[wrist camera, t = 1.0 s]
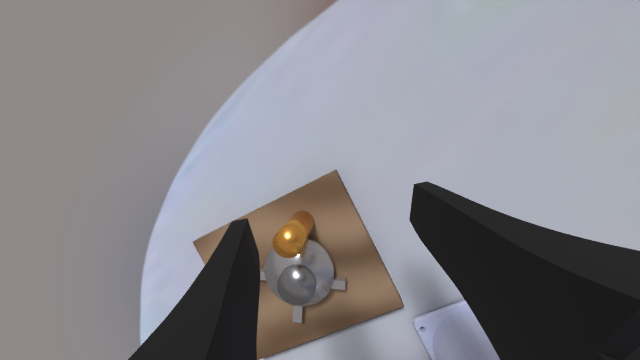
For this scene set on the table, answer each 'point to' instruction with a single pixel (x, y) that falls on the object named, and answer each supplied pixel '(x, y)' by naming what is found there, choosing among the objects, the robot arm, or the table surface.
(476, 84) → the table surface
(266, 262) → the dial
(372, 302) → the walnut base
